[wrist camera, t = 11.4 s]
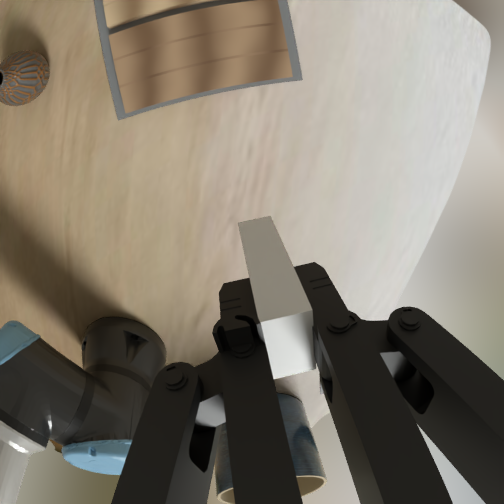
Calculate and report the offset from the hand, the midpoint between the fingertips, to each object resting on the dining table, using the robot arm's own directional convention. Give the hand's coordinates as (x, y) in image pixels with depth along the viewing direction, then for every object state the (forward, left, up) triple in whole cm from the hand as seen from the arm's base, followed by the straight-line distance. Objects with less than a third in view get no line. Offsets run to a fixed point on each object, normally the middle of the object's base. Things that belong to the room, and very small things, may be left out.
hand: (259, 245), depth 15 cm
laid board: (-1, +13, -24) cm, 27 cm away
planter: (-6, -58, -25) cm, 63 cm away
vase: (-22, +17, -25) cm, 37 cm away
